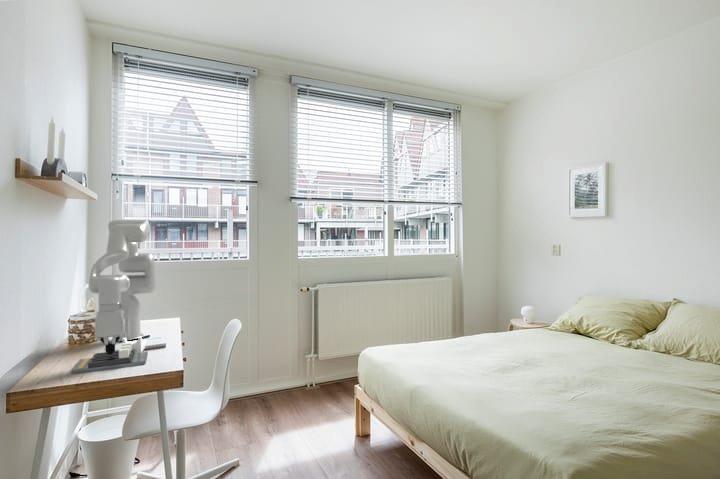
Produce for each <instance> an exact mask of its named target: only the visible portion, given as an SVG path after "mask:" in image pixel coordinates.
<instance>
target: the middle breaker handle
mask: <svg viewBox="0 0 720 479" xmlns="http://www.w3.org/2000/svg"><path fill="white" fill-rule="evenodd" d="M125 348H129V354H130V352H131V347H130V345H126V346H122V345H121V346H120V349H125Z"/></svg>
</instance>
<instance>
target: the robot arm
mask: <svg viewBox="0 0 720 479" xmlns="http://www.w3.org/2000/svg"><path fill="white" fill-rule="evenodd" d="M107 227H108V231H109V232H108V239H107V247H106V253H105V254H103V255H102V256H101V257H99V258H98V259H97V260H96V262H95V263H94V264H93V265H92V267H91V270H90V275H89V281H88V288H89V291H90V292H91V293H92V294H98V311H96V315H95V321H94V338H93V339H94V342H95V341H97V342H101V343H103V344H104V345H105V352H108V355H109V354H111V355H112V354H113V352H115V351H116V343H118V342H120V341H122V338H125V337H126V340H132V339H137V338H138V337H139V336H142V337H143V336H144V337H145V335H144V333H141V303H140V300H139V299H138V298H137V297H136V295H139V294H143V295H144V294H152V293H154V292H155V290H156V285H157V284H156V283H157V282H156V281H157V279H156V277H157V276H156V261H155V260H156V259H155V257H154V255H153V254H152V253H148V252H143V253H141V252H140V253H139V252H138V251H139V250H138V243H144V242H146V240H147V239H148V237H149V236H150V233H151V225H150V223H149V221H148V220H144V219H114V220H111V221H110V222H108V225H107ZM116 264H117V266H118V271H120V272H121V273H126V275H125V274H101V273H102V272H103V271H104V270H105V269H107V268H110V267H111V266H114V265H116ZM127 273H128V274H127ZM129 273H143V274H129ZM144 337H143V338H144ZM109 338H112V340H111V342H110V340H109Z"/></svg>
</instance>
